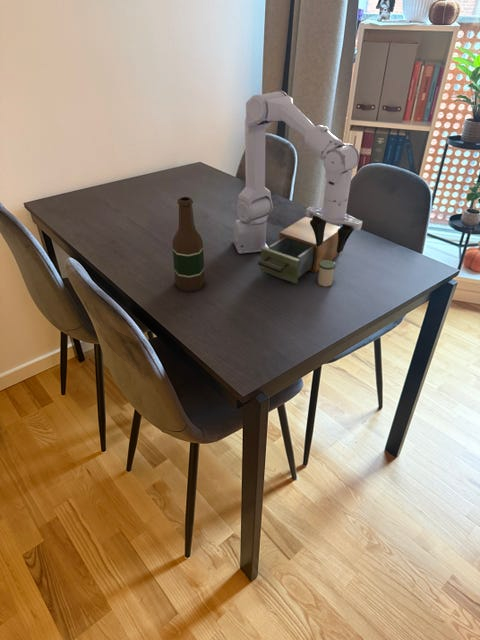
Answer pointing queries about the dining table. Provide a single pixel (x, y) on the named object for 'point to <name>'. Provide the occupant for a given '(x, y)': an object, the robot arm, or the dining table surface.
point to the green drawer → (287, 259)
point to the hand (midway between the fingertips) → (329, 248)
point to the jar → (326, 272)
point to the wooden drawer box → (306, 235)
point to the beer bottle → (188, 250)
